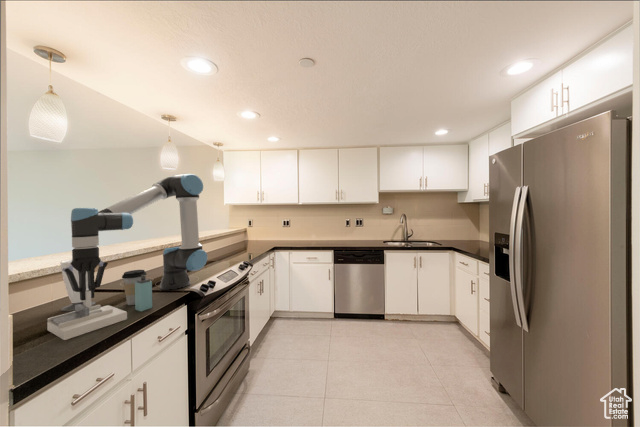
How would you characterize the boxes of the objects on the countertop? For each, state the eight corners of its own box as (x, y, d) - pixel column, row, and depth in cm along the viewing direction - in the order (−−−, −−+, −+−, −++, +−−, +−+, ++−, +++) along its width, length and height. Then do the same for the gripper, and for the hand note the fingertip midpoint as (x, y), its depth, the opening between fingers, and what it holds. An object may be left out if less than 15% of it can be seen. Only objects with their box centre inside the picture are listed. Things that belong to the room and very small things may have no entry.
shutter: (79, 313, 95) (79, 303, 95) (89, 317, 91) (89, 307, 91) (51, 321, 88) (51, 311, 88) (60, 326, 84) (60, 315, 84)
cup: (52, 312, 105) (52, 263, 105) (74, 302, 116) (73, 258, 116) (83, 310, 107) (83, 261, 107) (101, 300, 118) (101, 257, 118)
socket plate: (108, 312, 104) (108, 301, 104) (127, 319, 97) (126, 308, 97) (47, 330, 88) (47, 318, 88) (64, 340, 81) (64, 327, 81)
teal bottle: (146, 305, 111) (146, 273, 111) (152, 307, 109) (151, 274, 109) (135, 309, 107) (134, 275, 107) (140, 311, 105) (140, 277, 105)
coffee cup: (133, 307, 109) (132, 274, 109) (116, 305, 111) (116, 273, 111) (151, 299, 119) (151, 269, 119) (136, 298, 121) (135, 269, 121)
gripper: (102, 244, 101) (104, 300, 101) (58, 249, 90) (60, 312, 90) (111, 245, 98) (112, 303, 98) (66, 250, 86) (68, 315, 86)
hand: (87, 307), depth 94 cm, fingers closed
